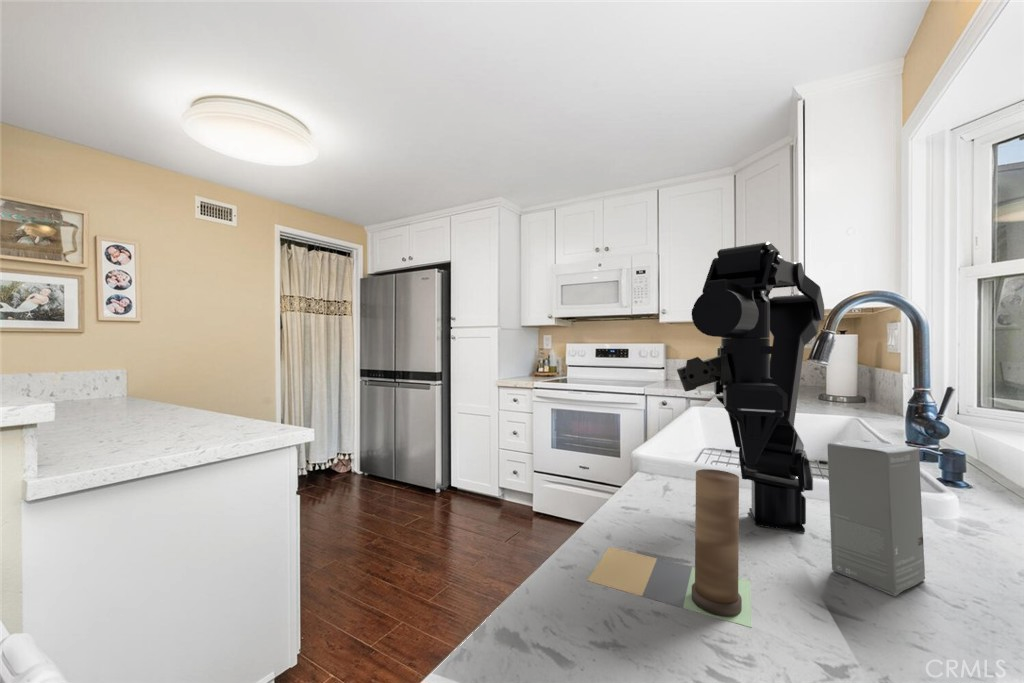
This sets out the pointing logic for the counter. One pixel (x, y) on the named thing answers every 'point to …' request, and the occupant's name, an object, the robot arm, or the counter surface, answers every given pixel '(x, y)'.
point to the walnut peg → (717, 543)
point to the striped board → (660, 581)
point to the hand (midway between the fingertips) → (744, 454)
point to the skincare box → (876, 514)
